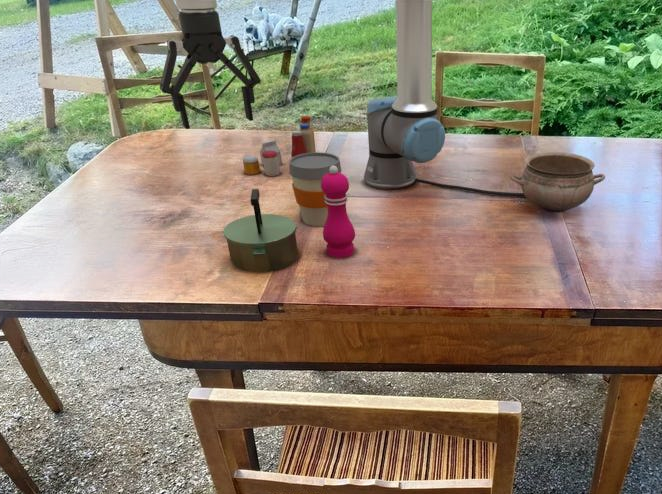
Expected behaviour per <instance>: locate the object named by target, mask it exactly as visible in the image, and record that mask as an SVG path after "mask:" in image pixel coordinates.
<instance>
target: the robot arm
mask: <svg viewBox="0 0 662 494" xmlns="http://www.w3.org/2000/svg"><path fill="white" fill-rule="evenodd" d="M394 1H395V2H394V3H395V5H394V6H395V45H396V50H395V51H396V87H397V91H396V92H397V96H390V97H389V96H387V97H378V98H374V99H371V100H369V101H368V102H367V105H366V108H367V109H366V121H367V139H368V140H367V141H368V155H369V156H368V159H367V163H366V167H365V169H364V170H365V171H364V175H363V183H364V185H365V186H366V187H368V188H370V189H373V190H377V191H384V192H393V191H394V192H395V191H402V190H408V189H410V188H412V187H414V186H415V185H416V184H417V183H420V184H424V185H429V186H434V187H438V188H445V189H452V190H460V191H466V192H471V193H472V192H473V193H477V194H484V195H494V196H504V197H525V198H526V196H525V195H524V193H523V192H508V191H507V192H505V191H495V190H485V189H479V188H473V187H469V186H461V185H454V184H446V183H445V184H444V183H439V182H435V181H430V180H426V179H421V178H418V177H417V172H416V169H415V166H414V163H416V164H426V163H428V162H431V161H433V160H434V159H435V158H436V157H437V155H438V154H439V153H441V151H442V148H443V147H444V144H445V141H446V130H445V128H444V126H443V124H442V122H441V121H440V120H438V104H437V103H436V102H435V101H434V100H433V99H432V87H433V83H432V82H433V81H432V80H433V77H432V75H433V73H432V72H433V71H432V70H433V68H432V67H433V0H394ZM175 5H176V8H177V9H179V10H180V11H179V12H178V13H177V14H178V16H177V17H178V19H179V25H180V29H181V35H182V39H181V40H173V39H171V38H169V39H167V40H166V46H167V53H166V58H165V64H164V67H163V71H162V75H161V80H160V83H159V90H160V91H161V92H162V93H164V94H167V95H170V97H171V101H172V105H173V106H172V107H173V109H174V111H175V112H176V113H179V114H180V117H181V122H182V126H183V127H184V128H185V129H186V130H189V129H191V126H190V121H189V117H188V113H187V108H186V103H185V98H184V95H183V94H182V93H180V92H181V90H182V88H183V86H184V85H185V83H186V81H187V80H188V77H189V76H190V74H191V72H192V70H193V69H194V67H195V66H196V65H197V63H198V64H200V65H205V64H207V63H211V64H217V62H221V63H222V64H223V65H224V66H225V67H226V68H227V69H228V70H229V71H230V72H231V73H232V74H233V75H234V76H235V77H236V78H237V79H238V80H239V81H241V82H242V84H244V85H242V86H240V87H241V94H242V100H243V105H244V112H245V119H247V120H248V121H250V122H252V121H254V115H253V107H252V104H255V101H256V100H255V92H254V88H255V86H256V85H260V84H261V82H262V80H261V78H260V75H258V73H257V71H256V70H255V68H254V67H253V65H252V63H251V62H250V60H249V58H248V56H247V55H246V54H245V52H244V50H243V49H242V46H241V42H240V38H239V37H238V36H236V35H233V34H231V35H230V36H228V37H224V36H223V33H222V25H221V19H220V15H219V12H218V11H217V10H215V9H217V8H218V3H217V0H175ZM226 45H227V46H228V47H229V48H230V49H232V50H233V52H234V54H235V55H236V58H237V59H238V60H239V62H240V63H241V65H242V66H243V68H244V70H245V71H246V73H247V74H248V76H249V77H250V78H248V77H247V76H246V75H245V74H244V73H243V72H242V71H241V70H240V68H239V67H237V66H236V65H235V64H234V63H233V62H232V61H231V60H230V58H228V56H227V55H225V54H224V50H225V48H226ZM182 48H183V49H184V51H185V52H186V53H187V55H186V57H185V58H184V62H183V64H182V66H181V67H180V69H179V71H178V72H177V75H176V76H175V78H174V80H173V82H172V78H173V75H174V70H175V66H176V63H177V57H178V54H179V53H180V52H181V49H182ZM171 82H172V83H171Z"/></svg>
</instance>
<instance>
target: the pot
mask: <svg viewBox="0 0 662 494" xmlns="http://www.w3.org/2000/svg"><path fill="white" fill-rule="evenodd" d="M226 243H227V248H228V253H229V258H230V261H231V263H232V265H233V266H234V267H235V268H236V269H239V270H240V271H243V272H249V273H269V272H274V271H278V270H281V269H285V268H286V267H289V266H291V265H293V264H294V263H295V262H296V260H297V259H298V256H299V253H298V251H299V249H298V242H297V234H296V232H295V233H294V234H293V235H292V236H291V237H289V238H287V239H285V240H283V241H280V242H277V243H273V244H268V245H260V246H246V245H239V244H235V243H232V242H230V241H228V240H227V239H226Z"/></svg>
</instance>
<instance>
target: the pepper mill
mask: <svg viewBox="0 0 662 494" xmlns="http://www.w3.org/2000/svg"><path fill="white" fill-rule="evenodd" d="M329 170H330V173H327V174H326V175H324V177H323V178H322V180H321V189H322V191H323V192H324V193H325V194H326V195H325V196H324V198H325V203H326V204H327V207H328V215H327V219H326V222H325V225H324V226H323V229H322V237H323V240H324V242H325V243H326V246H325V247H326V248H325V249H326V254H327V255H328V256H329V257H332V258H335V259H344V258H348V257H350V256H353V254H355V245H354V241H355V238H356V232H355V231H356V230H355V228H354V227H355V226H354V225H353V223H352V221H351V220H350V217H349V215H348V211H347V203H348V201H349V199H348V194H347V193H348V191H349V189H350V184H349V180H348V178H347V176H346V175H345V174H344V173H342V172H341V173H339V172H338V168H337V167H336V166H331V167H330V169H329Z"/></svg>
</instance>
